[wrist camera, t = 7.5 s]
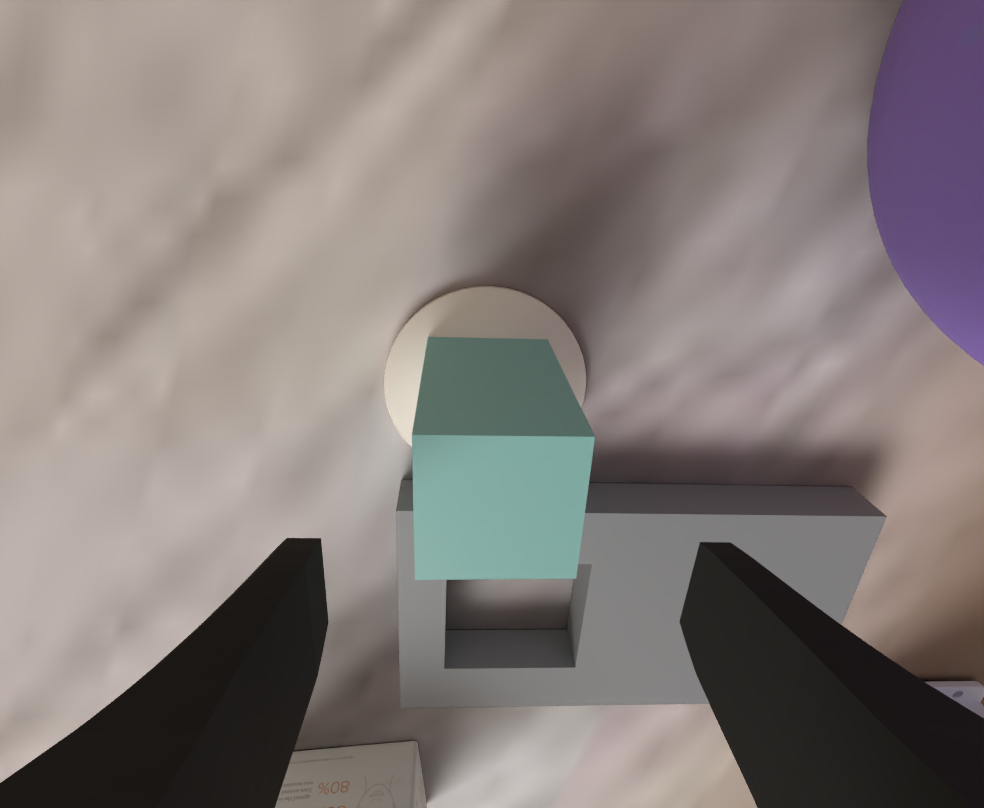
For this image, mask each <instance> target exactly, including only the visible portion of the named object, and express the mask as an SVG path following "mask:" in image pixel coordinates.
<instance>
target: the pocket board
mask: <svg viewBox="0 0 984 808" xmlns="http://www.w3.org/2000/svg"><path fill="white" fill-rule="evenodd" d="M886 517H887V516H886V515H884V514H883V513H882V512H881V511H880V510H878V509H877V508H876V507H875V506H874V505H873V504H871V503H870V502H869V501H868V500H867V499H865V498H864V497H863V496H862V495H861V494H860V493H858V492H857V491H856V490H855V489H854V488H852V487H830V486H766V485H702V484H637V483H589V486H588V493H587V501H586V508H585V516H584V523H583V531H582V539H581V546H580V554H579V561H578V569H577V576H576V579H574V583H573V589H572V596H571V603H570V610H569V616H568V623H567V630H445V619H446V580H415V561H414V514H413V480H401V486H400V491H399V497H398V503H397V509H396V528H397V576H398V623H399V671H400V708H448V707H515V706H582V705H649V704H709V701H708V699H707V697H706V695H705V693H704V690H703V688H702V686H701V684H700V682H699V679H698V677H697V675H696V672H695V669H694V666H693V663H692V660H691V657H690V654H689V652H688V648H687V645H686V642H685V639H684V635H683V632H682V629H681V625H680V622H679V621H680V617H681V613H682V610H683V606H684V602H685V598H686V594H687V590H688V586H689V582H690V579H691V575H692V571H693V567H694V563H695V559H696V555H697V551H698V547H699V544H700V542H731V543H732V544H734V545H735V546H737V547H738V548H739V549H741V550H742V551H744V552H745V553H746V554H748V555H749V556H751V557H752V558H753V559H755V560H756V561H757V562H759V563H760V564H761V565H763V566H764V567H765V568H767V569H768V570H769V571H770V572H772V573H773V574H774V575H776V576H777V577H778V578H780V579H781V580H782V581H783V582H785V583H786V584H787V585H789V586H790V587H791V588H793V589H794V590H795V591H797V592H798V593H799V594H800V595H802V596H803V597H804V598H806V599H807V600H808V601H810V602H811V603H812V604H814V605H815V606H816V607H818V608H819V609H820V610H822V611H823V612H824V613H826V614H827V615H828V616H830V617H831V618H832V619H834V620H835V621H837V622H838V623H839V624H842V621H843V619H844V617H845V614H846V612H847V610H848V607H849V605H850V602H851V600H852V598H853V595H854V593H855V591H856V588H857V586H858V584H859V581H860V579H861V576H862V574H863V572H864V569H865V567H866V565H867V562H868V560H869V557H870V555H871V553H872V550H873V548H874V546H875V543H876V541H877V539H878V536H879V534H880V531H881V529H882V527H883V524H884V522H885V520H886Z"/></svg>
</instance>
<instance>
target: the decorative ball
mask: <svg viewBox="0 0 984 808" xmlns="http://www.w3.org/2000/svg"><path fill="white" fill-rule="evenodd" d="M867 165H868V177H869V187H870V196H871V201H872V206H873V211H874V216H875V219H876V223H877V226H878V229H879V232H880V235H881V238H882V241H883V243H884V246H885V249H886V252H887V254H888V256H889V258H890V260H891V262H892V265H893V266H894V268H895V270H896V272H897V273H898V275H899V277H900V279H901V280H902V282H903V284H904V286H905V287H906V288H907V290H908V291H909V293H910V294H911V296H912V297H913V298H914V300H915V301H916V302H917V303H918V305H919V306H920V307H921V309H922V310H923V311H924V312H925V313H926V315H927V316H928V317H929V318H930V319H931V320H932V321H933V322H934V323H935V325H936V326H937V327H938V328H939V329H940V330H941V331H942V332H943V333H944V334H946V335H947V336H948V337H949V338H950V339H951V340H952V341H953V342H954V343H956V344H957V345H958V346H959V347H960V348H961V349H963V350H964V351H965V352H966V353H967V354H969V355H970V356H971V357H972V358H974V359H975V360H977V361H978V362H979V363H981V364H982V365H984V0H904V1H903V3H902V5H901V8H900V10H899V12H898V15H897V17H896V19H895V22H894V25H893V27H892V30H891V33H890V36H889V39H888V42H887V45H886V49H885V52H884V55H883V58H882V61H881V65H880V68H879V72H878V76H877V80H876V84H875V89H874V95H873V100H872V106H871V111H870V120H869V130H868V140H867Z"/></svg>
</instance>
